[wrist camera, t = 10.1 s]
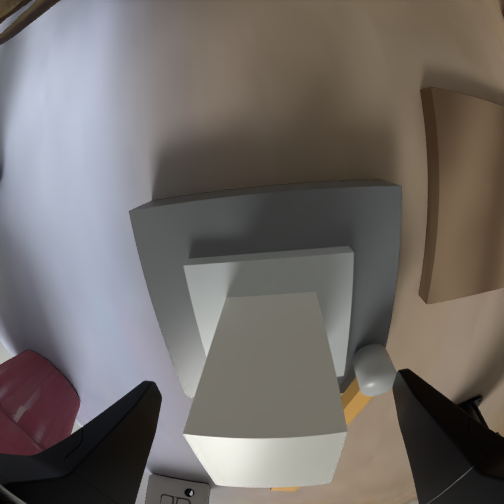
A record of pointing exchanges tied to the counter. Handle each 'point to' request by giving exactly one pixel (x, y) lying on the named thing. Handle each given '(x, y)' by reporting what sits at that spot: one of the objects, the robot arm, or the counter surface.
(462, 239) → the walnut board
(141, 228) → the socket block
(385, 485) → the counter surface
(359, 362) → the ball-topped lever
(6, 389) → the plant pot
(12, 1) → the brown shallow curved piece
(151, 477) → the electrical switch
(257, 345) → the plug
